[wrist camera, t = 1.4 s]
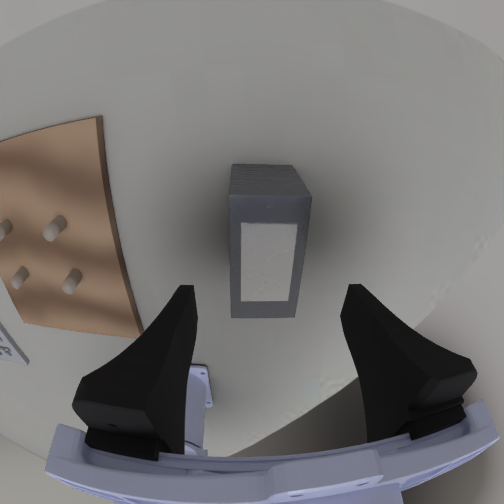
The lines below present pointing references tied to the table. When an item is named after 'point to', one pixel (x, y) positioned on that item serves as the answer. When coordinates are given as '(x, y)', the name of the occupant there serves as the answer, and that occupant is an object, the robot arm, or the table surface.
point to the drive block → (266, 239)
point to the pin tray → (63, 232)
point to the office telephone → (10, 349)
